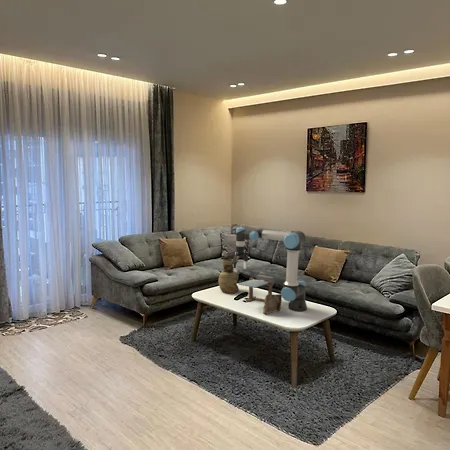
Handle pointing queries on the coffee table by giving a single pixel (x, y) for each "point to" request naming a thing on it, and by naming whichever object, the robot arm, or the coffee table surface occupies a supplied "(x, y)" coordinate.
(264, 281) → the trapdoor
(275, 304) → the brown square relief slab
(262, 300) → the trapdoor frame
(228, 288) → the ceramic vessel
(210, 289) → the coffee table surface
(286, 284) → the robot arm
